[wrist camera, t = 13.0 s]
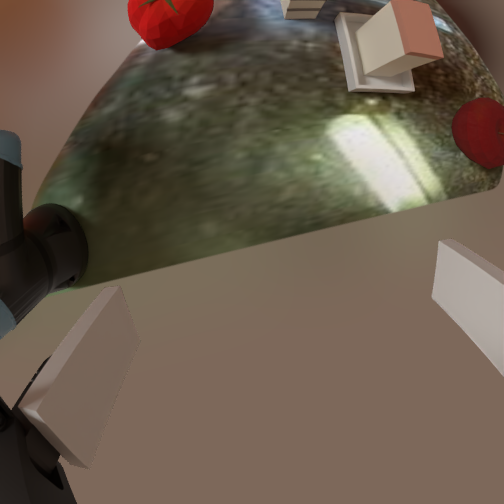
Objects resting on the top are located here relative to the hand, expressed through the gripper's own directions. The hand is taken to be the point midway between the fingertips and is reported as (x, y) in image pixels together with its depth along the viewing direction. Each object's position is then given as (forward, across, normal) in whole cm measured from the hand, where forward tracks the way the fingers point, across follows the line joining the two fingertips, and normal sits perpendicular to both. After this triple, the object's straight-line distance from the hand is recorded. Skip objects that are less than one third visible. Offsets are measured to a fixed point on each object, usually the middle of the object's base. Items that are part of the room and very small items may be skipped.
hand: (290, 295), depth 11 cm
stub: (+30, +19, +18) cm, 40 cm away
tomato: (+32, -8, +27) cm, 42 cm away
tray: (+31, +19, +18) cm, 41 cm away
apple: (+31, +36, +6) cm, 48 cm away
